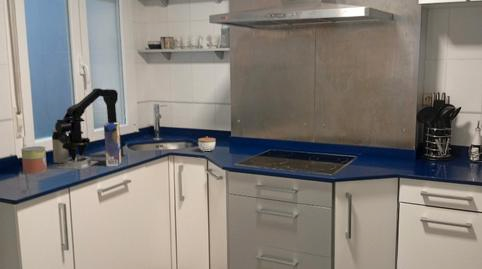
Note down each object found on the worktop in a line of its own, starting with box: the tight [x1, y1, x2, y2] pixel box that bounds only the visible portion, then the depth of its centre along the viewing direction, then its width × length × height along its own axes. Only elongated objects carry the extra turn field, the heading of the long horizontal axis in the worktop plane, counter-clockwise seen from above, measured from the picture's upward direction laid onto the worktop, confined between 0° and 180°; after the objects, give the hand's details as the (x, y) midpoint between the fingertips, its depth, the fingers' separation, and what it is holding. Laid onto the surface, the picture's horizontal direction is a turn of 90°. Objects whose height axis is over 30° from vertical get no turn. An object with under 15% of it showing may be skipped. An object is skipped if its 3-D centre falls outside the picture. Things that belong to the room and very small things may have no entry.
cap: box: [70, 154, 84, 161], centre depth 250 cm, size 6×7×3 cm
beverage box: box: [103, 122, 122, 167], centre depth 252 cm, size 7×11×22 cm, turn 9°
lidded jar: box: [197, 136, 216, 152], centre depth 285 cm, size 11×11×9 cm
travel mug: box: [51, 129, 70, 164], centre depth 258 cm, size 8×8×18 cm
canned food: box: [20, 145, 48, 175], centre depth 237 cm, size 11×11×12 cm
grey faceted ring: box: [56, 156, 99, 170], centre depth 251 cm, size 16×16×3 cm
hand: (77, 158), depth 250 cm, fingers closed on cap, 7 cm apart
